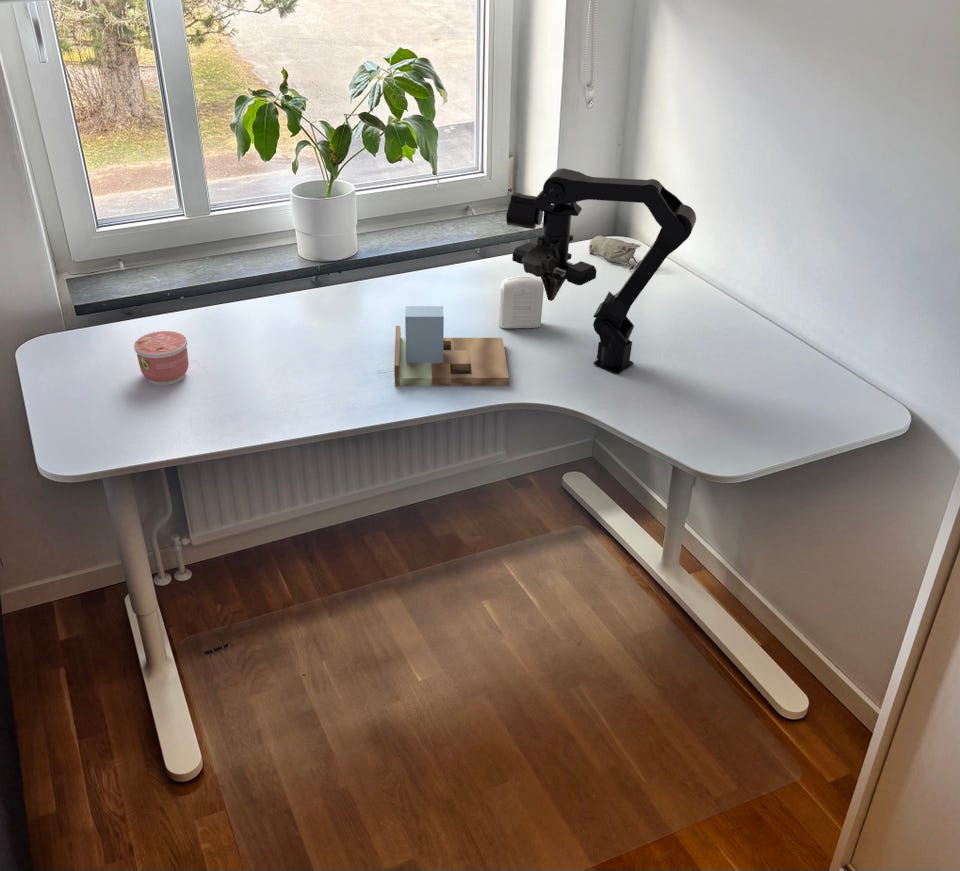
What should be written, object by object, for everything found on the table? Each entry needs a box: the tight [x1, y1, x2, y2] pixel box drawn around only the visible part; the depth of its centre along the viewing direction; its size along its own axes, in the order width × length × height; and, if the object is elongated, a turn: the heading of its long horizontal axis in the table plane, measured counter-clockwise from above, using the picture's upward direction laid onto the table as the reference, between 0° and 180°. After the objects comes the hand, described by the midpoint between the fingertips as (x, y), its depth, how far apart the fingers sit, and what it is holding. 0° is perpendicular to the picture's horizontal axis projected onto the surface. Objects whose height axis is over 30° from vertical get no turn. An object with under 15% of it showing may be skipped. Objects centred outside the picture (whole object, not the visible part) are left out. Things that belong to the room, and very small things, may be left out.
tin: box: [404, 305, 445, 363], centre depth 204 cm, size 8×5×11 cm, turn 93°
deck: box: [393, 325, 510, 387], centre depth 207 cm, size 24×18×5 cm
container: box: [133, 330, 190, 386], centre depth 199 cm, size 10×10×8 cm
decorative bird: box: [588, 235, 642, 272], centre depth 256 cm, size 5×16×8 cm, turn 46°
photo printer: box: [497, 275, 545, 329], centre depth 222 cm, size 10×4×12 cm, turn 98°
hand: (550, 299), depth 207 cm, fingers closed
